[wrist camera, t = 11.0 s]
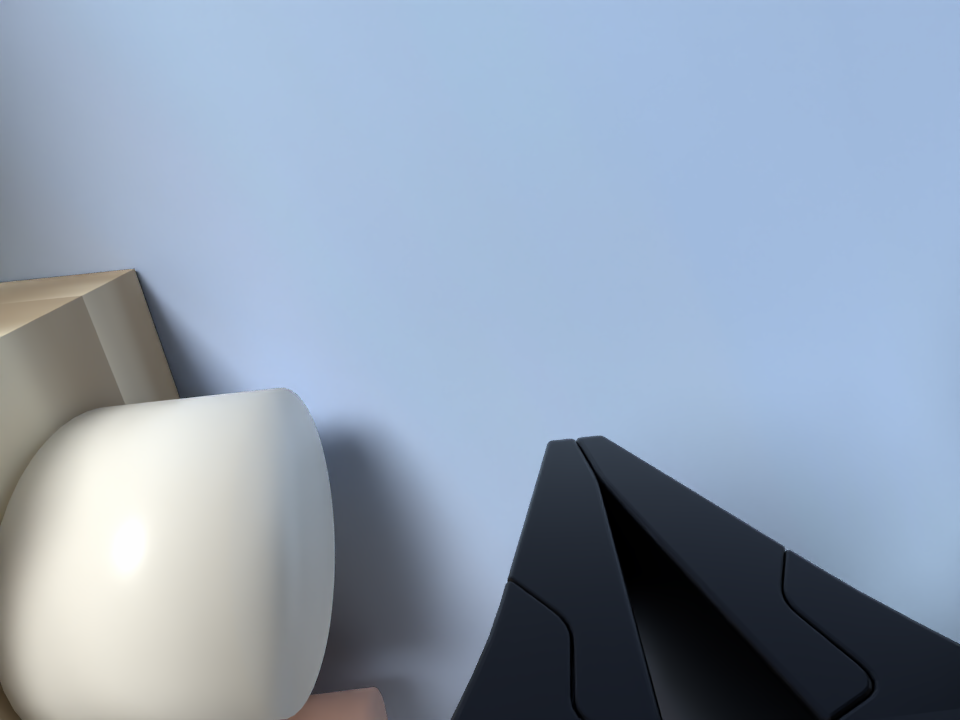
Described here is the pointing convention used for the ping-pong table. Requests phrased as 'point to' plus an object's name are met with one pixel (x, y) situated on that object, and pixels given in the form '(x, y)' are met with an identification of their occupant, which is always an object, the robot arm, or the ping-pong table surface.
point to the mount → (70, 364)
